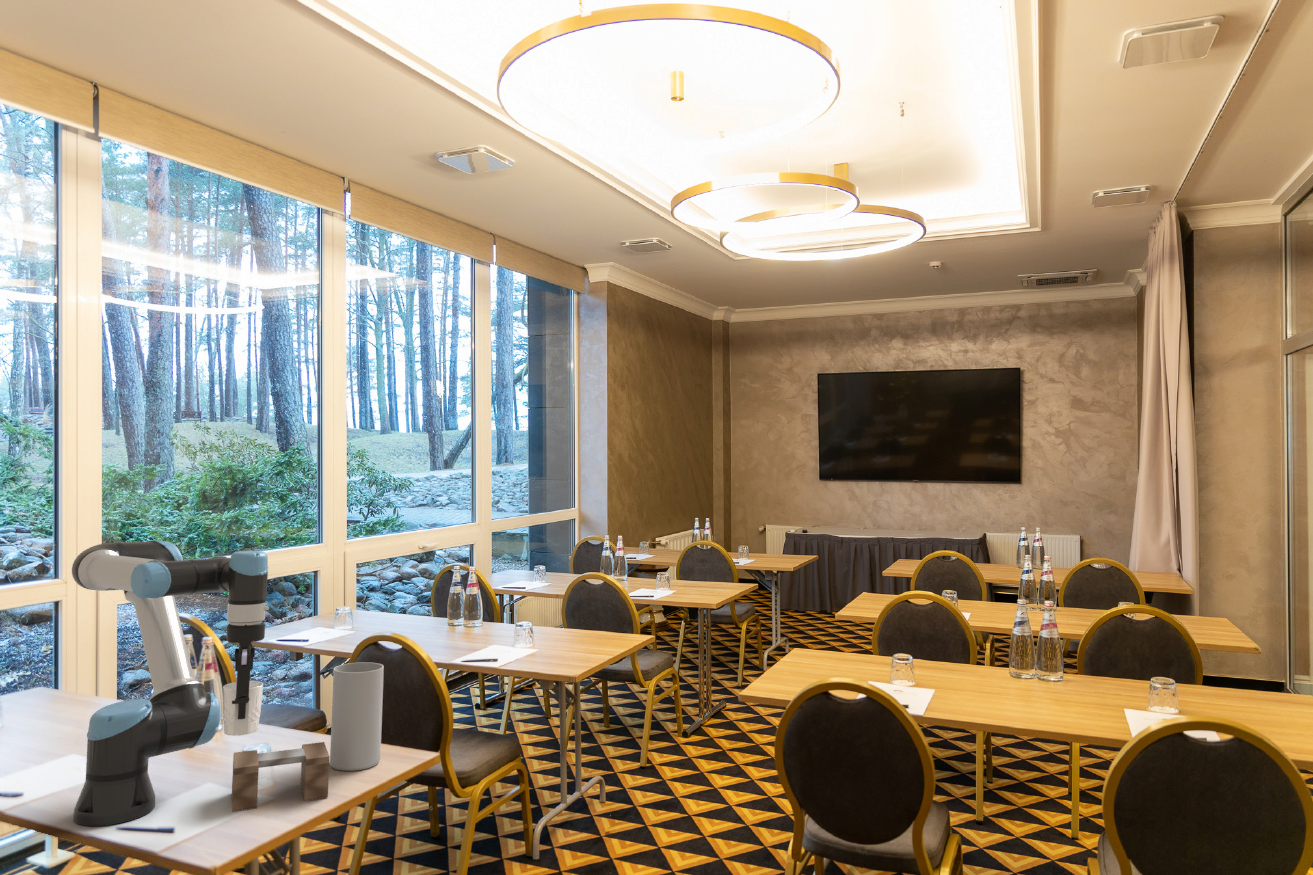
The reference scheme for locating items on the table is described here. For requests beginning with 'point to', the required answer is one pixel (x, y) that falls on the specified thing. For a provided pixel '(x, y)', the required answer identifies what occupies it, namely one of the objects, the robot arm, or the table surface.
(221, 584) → the robot arm
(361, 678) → the cylinder vase
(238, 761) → the shelf
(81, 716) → the table surface
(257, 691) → the white cup
